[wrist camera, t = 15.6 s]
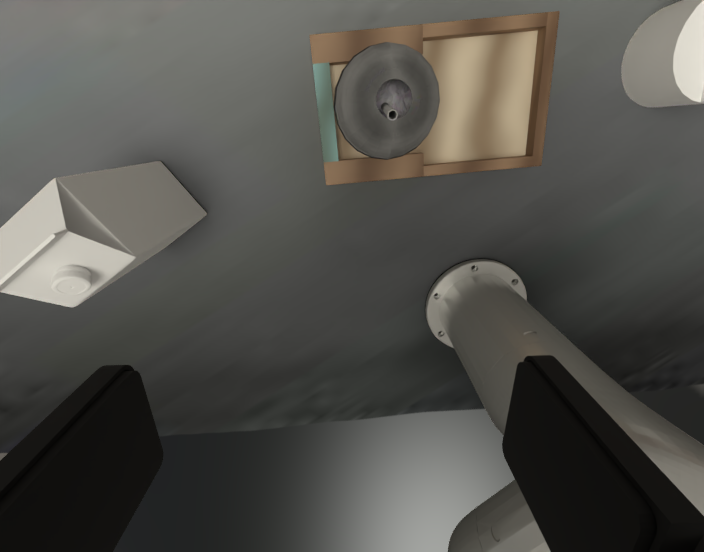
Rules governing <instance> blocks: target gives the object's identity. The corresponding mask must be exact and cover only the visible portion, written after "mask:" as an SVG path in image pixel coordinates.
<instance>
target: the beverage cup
mask: <svg viewBox="0 0 704 552" xmlns="http://www.w3.org/2000/svg"><path fill="white" fill-rule="evenodd" d="M439 103H440V94H439V84H438V80H437V78H436V75H435V73H434V71H433V68H432V66H431V65H430V64H429V62H428V61H427V60H426V59H425V58H424V57H423V55H422V54H421V53H419V52H418V51H416V50H414V49H412V48H410V47H409V46H407V45H404V44H397V43H390V42H384V43H380V44H376V45H371V46H368V47H367V48H365V49H364V50H362V51H360V52H359V53H357V54H356V55H354V56H353V57H352V59H351V60H350V61H349V62H348V64H347V65H346V66H345V67H344V69H343V70H342V72H341V74H340V77H339V80H338V82H337V85H336V87H335V96H334V111H335V116H336V121H337V125H338V127H339V129H340V131H341V133H342V134H343V136H344V138H345V140H346V141H347V142H348V143H349V144H350V145H351V146H352V147H353V148H354V149H355V150H356V151H358V152H360V153H362V154H364V155H366V156H368V157H370V158H376V159H384V160H388V159H393V158H397V157H402V156H404V155H405V154H407V153H409V152H411V151H412V150H414V149H416V148H417V147H418V146H419V145H420V144H421V142H422V141H423V140H424V139H425V138H426V137H427V136H428V134H429V132H430V130H431V128H432V126H433V124H434V122H435V120H436V118H437V114H438V109H439Z"/></svg>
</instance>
